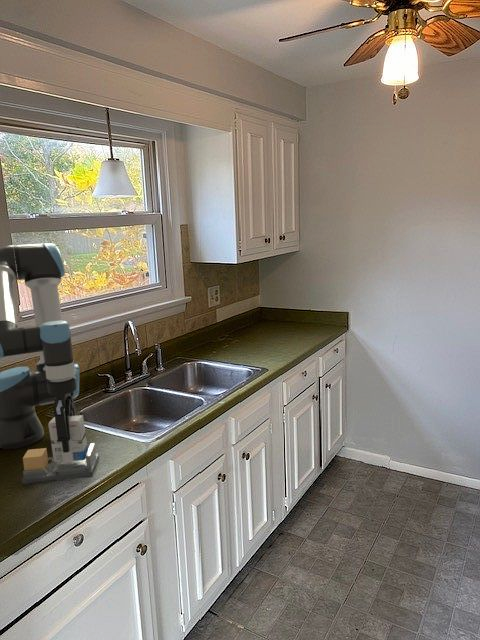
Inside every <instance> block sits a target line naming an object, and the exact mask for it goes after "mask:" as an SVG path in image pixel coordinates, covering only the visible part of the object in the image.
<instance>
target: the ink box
mask: <svg viewBox="0 0 480 640" xmlns="http://www.w3.org/2000/svg"><path fill="white" fill-rule="evenodd" d="M84 419H85V418H84V415H83V414H82V415H81V414H80V415H76V416H69V432H70V439H71V441H72V450H73V458H74V461H76V460H84V459H85V458H86V457H85V456H86V453H87V451H88V448H89V447H88V441H87V434H86V433H87V432H86V425H85V420H84ZM47 427H48V430H49V431H48V432H49V437H50V445H51V452H52V457H53V459H54V462H63V457H62V450H61V442H57V439H58V438H57V430H56V422H55V416H54V417H52V419H51V420H50V421H49V422H48V426H47Z"/></svg>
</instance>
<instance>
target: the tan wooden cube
mask: <svg viewBox="0 0 480 640" xmlns="http://www.w3.org/2000/svg"><path fill="white" fill-rule="evenodd" d="M47 449H48V448H47V447H45V448H44V447H43V448H35V449H34V448H32V449H27V451H26V452H25V454H24V456H23V457H22V462H23V463H22V464H23V469H24V470H23V471H27V470H37V469H45V468H46V466H47V464H48V458H49V456H48V450H47Z"/></svg>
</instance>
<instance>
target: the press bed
mask: <svg viewBox="0 0 480 640" xmlns="http://www.w3.org/2000/svg"><path fill="white" fill-rule="evenodd" d="M87 448H88V451H87V453H86V456H85V457H86V458H85V459H84V460H76V461H73V462H65V463H63V462H54V459H53V456H52V457H48V464H47V466H46V468H45V469H37V470H27V471H25V470H23V472H22V473H23V476H22V477H21V483H22V485H25V484H26V485H27V484H37V483H46V482H53V481H63V480H65V481H66V480H73V479H74V480H75V479H82V478H83V479H85V478H93V477H94V473H95V470H96V468H97V465H98V462H99V459H100V457H99V453H98V452H97V451H96V443H94V442H93V443H92V442H91V443H89V446H88V447H87Z"/></svg>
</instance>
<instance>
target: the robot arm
mask: <svg viewBox="0 0 480 640" xmlns="http://www.w3.org/2000/svg"><path fill="white" fill-rule="evenodd" d="M65 275H66V272H65V267H64V261H63V258H62V255H61V252H60V250H59V247H58V245H56V244H54V243H42V242H41V243H32V244H19V245H18V244H14V245H12V244H11V245H6V246H3V247H0V358H1V359H2V358H5V357H13V356H19V355H25V354H26V355H27V354H33V353H39V360H38V361H37V363H36V364H35V365H36V366H35V367H36V370H35V369H34V370H31V368H29V366H17V367H11V368H8V369H6V370H3V371H1V372H0V448H2V449H1V450H15V449H21V448H24V447H28V446H30V445H33V444H35V443H37V442H38V441H40V440H41V439H43V437H44V436H45V431H44V426H43V425H42V423H41V421H40V419H39V417H38V416H37V413H36V408H35V407H37V406H44V405H49V404H54V406H55V407H53V409H52V411H53V414H54V417H55V422H56V430H57V438H58V439H57V442H61V450H62V457H63V463H65V462H73V461H74V458H73V450H72V441H71V439H70V432H69V416H77V415H76V407H75V406H76V405H75V401H74V399H76V398H77V397H78V396H79V394H80V369H79V368H80V366H79V364H78V363H75V362H74V355H73V347H72V332H71V330H70V324H69V323H68V321H66V320H63V314H62V308H61V302H60V301H61V300H60V294H59V289H58V286H59V285H60V284H61V283H62V278H63V277H64V276H65ZM21 280H24V285H25V286H26V287H28V289H30V293H31V298H32V299H31V301H32V308H33V316H34V323H35V325H30V326H22V327H19V321H18V315H17V306H16V298H15V289H14V283H15V282H16V281H21Z"/></svg>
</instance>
